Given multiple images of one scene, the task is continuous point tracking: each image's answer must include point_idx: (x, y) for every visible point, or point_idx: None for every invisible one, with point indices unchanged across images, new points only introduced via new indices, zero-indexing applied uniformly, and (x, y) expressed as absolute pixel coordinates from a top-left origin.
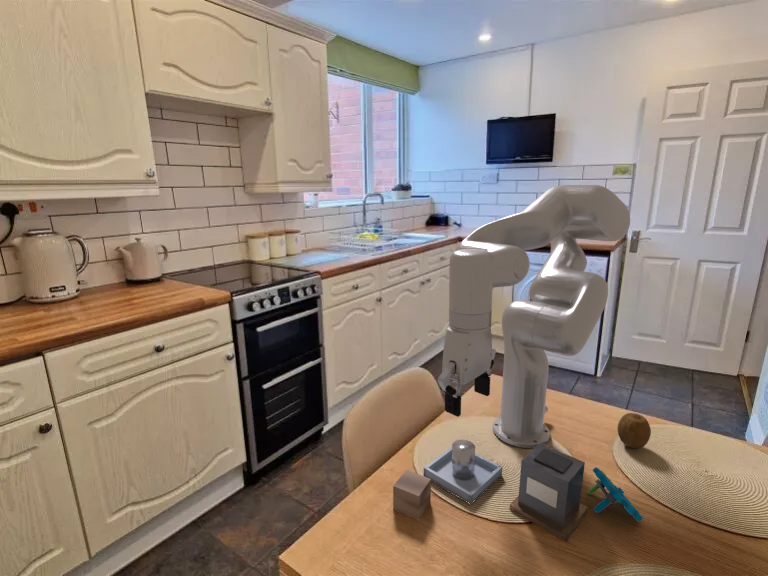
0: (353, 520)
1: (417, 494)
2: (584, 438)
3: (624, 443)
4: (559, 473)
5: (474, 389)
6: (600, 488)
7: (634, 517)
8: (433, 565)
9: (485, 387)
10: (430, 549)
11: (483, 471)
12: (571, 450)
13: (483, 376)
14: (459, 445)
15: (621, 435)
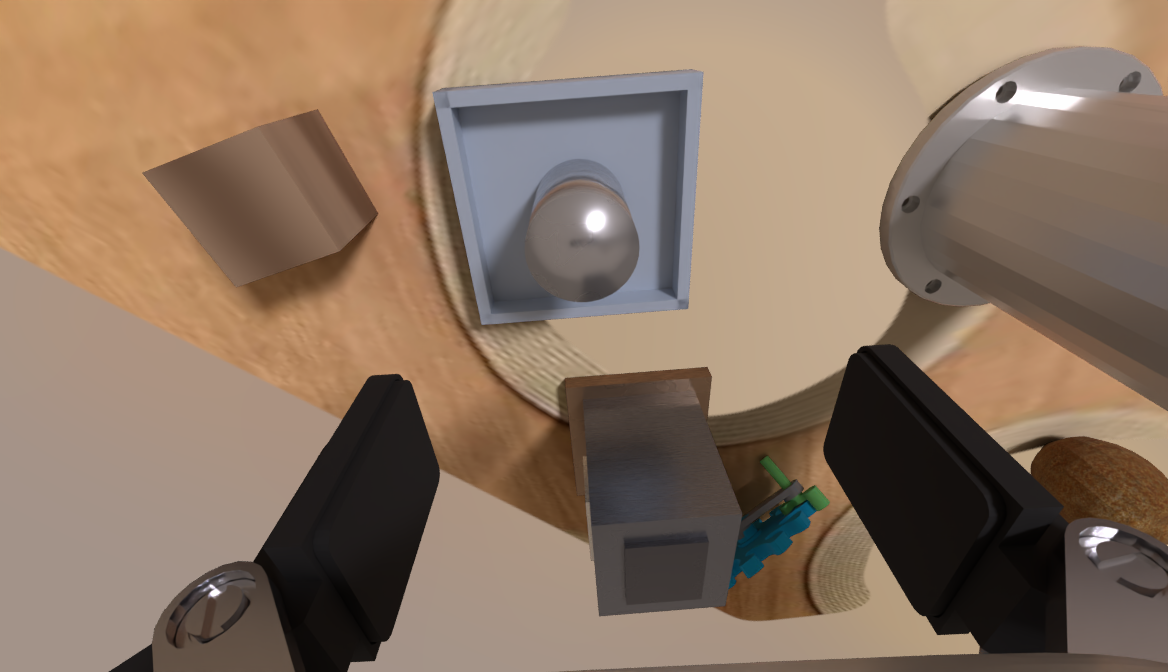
0: (30, 79)
1: (235, 276)
2: (1049, 357)
3: (1043, 452)
4: (619, 595)
5: (864, 360)
6: (764, 506)
7: None
8: (255, 366)
9: (865, 504)
10: (272, 334)
11: (644, 250)
12: (951, 361)
13: (963, 589)
14: (572, 232)
15: (1065, 467)
